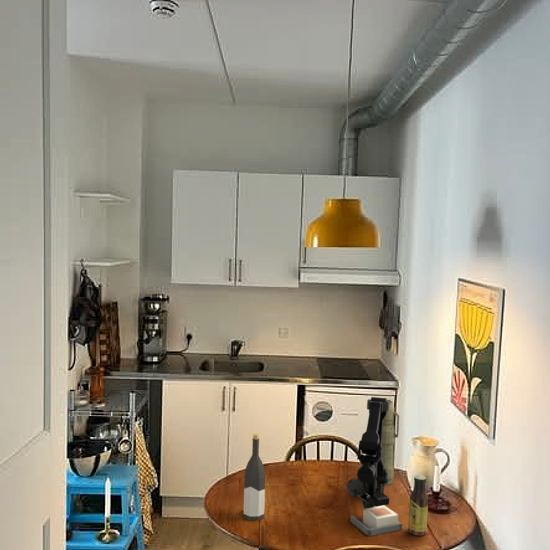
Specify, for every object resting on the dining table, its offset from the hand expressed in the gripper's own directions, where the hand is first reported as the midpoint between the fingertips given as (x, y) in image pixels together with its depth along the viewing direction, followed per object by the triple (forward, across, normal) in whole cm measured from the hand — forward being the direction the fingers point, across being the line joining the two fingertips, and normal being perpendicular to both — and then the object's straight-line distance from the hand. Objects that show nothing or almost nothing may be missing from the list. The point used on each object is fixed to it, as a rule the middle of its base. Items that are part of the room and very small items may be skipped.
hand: (367, 514), depth 211 cm
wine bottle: (+2, -17, -38) cm, 42 cm away
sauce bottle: (+2, +15, +11) cm, 19 cm away
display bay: (+2, +5, 0) cm, 6 cm away
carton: (+2, +6, +1) cm, 7 cm away
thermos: (+2, -28, +26) cm, 38 cm away
